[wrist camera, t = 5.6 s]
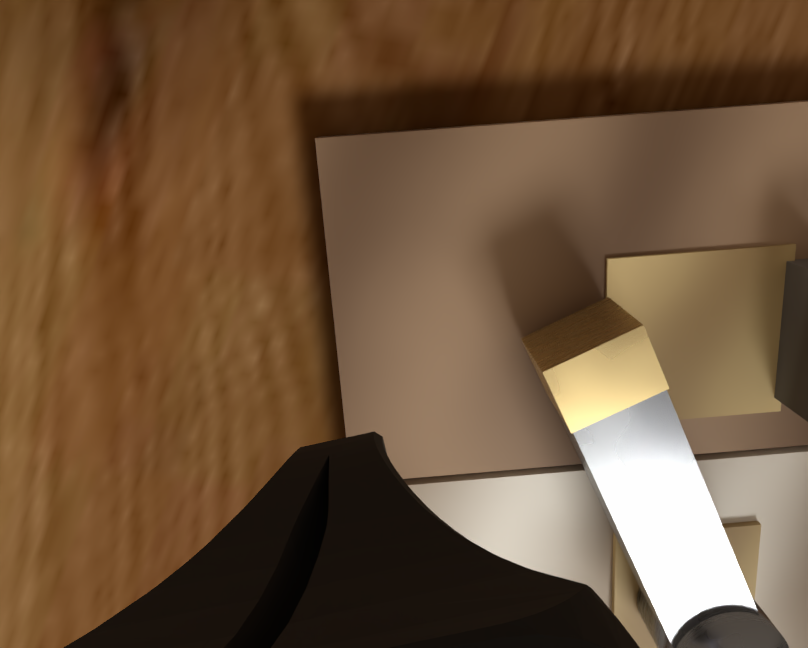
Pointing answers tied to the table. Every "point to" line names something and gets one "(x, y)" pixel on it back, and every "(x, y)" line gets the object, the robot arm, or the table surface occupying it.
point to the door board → (569, 293)
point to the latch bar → (647, 480)
